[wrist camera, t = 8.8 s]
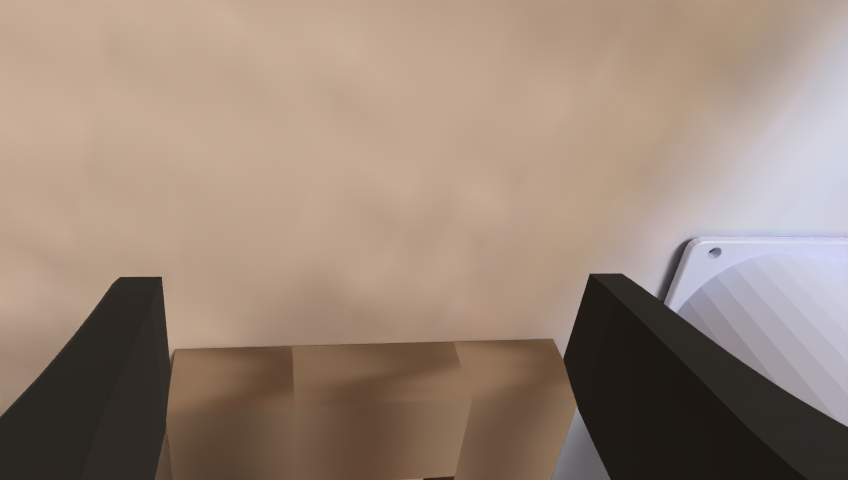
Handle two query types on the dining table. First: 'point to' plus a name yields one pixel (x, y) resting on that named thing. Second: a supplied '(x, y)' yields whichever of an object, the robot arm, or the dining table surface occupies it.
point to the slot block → (370, 411)
